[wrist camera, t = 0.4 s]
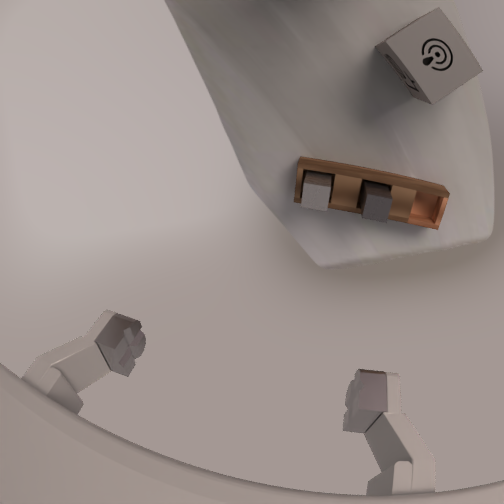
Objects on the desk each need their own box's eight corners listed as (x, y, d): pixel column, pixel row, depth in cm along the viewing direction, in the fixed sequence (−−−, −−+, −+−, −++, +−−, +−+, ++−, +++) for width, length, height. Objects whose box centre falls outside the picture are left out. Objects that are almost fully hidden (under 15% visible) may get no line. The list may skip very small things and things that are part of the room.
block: (363, 177, 48) (367, 194, 42) (386, 182, 47) (392, 199, 41) (359, 199, 50) (362, 217, 44) (381, 203, 49) (386, 222, 44)
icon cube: (413, 97, 39) (432, 104, 31) (374, 46, 36) (385, 41, 28) (457, 68, 33) (483, 70, 25) (419, 17, 30) (439, 7, 22)
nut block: (307, 168, 49) (303, 182, 44) (331, 171, 49) (330, 187, 43) (305, 189, 52) (300, 207, 46) (328, 193, 51) (326, 211, 45)
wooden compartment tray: (300, 156, 49) (298, 162, 47) (443, 185, 45) (449, 193, 42) (296, 194, 53) (293, 202, 51) (433, 220, 49) (437, 229, 46)
